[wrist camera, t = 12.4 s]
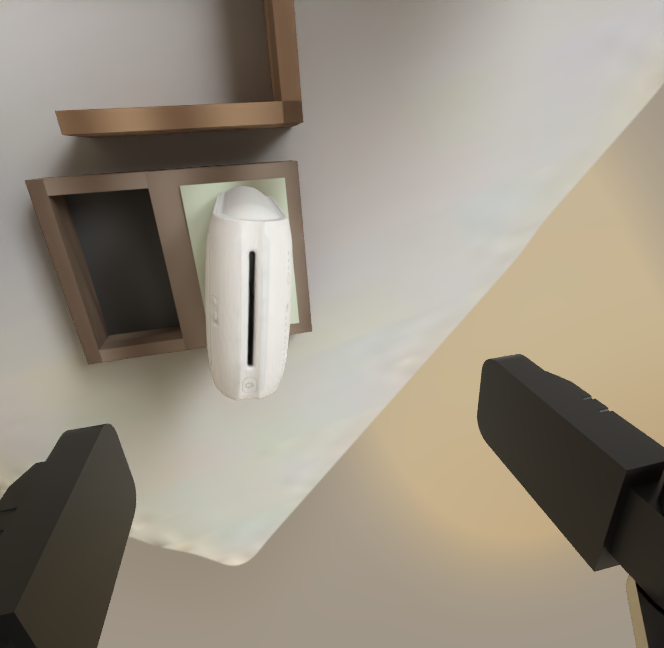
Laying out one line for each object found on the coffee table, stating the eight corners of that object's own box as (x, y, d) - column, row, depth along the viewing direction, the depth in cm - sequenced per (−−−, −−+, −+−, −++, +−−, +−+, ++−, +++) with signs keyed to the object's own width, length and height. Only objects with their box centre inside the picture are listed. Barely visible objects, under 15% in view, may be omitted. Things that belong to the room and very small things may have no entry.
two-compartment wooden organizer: (291, 160, 31) (297, 161, 28) (306, 317, 36) (312, 332, 33) (44, 177, 28) (23, 180, 25) (100, 346, 33) (87, 365, 30)
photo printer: (271, 324, 32) (291, 416, 21) (214, 324, 31) (204, 420, 20) (277, 188, 28) (305, 211, 17) (212, 182, 27) (199, 204, 16)
